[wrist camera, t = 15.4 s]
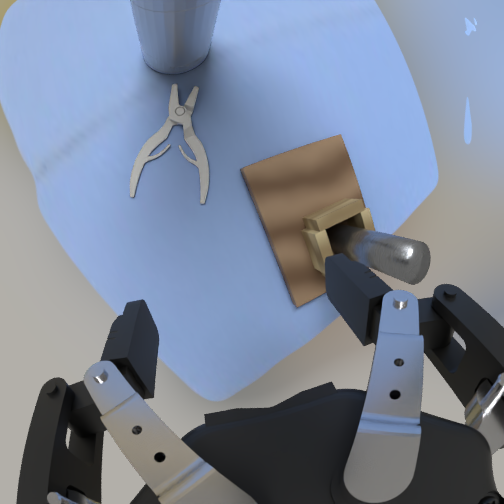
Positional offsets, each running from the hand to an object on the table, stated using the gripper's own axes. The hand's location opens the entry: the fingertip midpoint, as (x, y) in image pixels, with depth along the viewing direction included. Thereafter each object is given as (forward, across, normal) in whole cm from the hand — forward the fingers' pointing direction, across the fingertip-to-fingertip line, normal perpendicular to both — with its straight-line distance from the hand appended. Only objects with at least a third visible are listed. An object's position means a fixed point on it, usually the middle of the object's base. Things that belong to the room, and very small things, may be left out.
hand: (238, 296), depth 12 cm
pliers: (+26, +3, -7) cm, 27 cm away
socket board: (+24, -13, +7) cm, 28 cm away
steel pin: (+22, -15, +9) cm, 28 cm away
